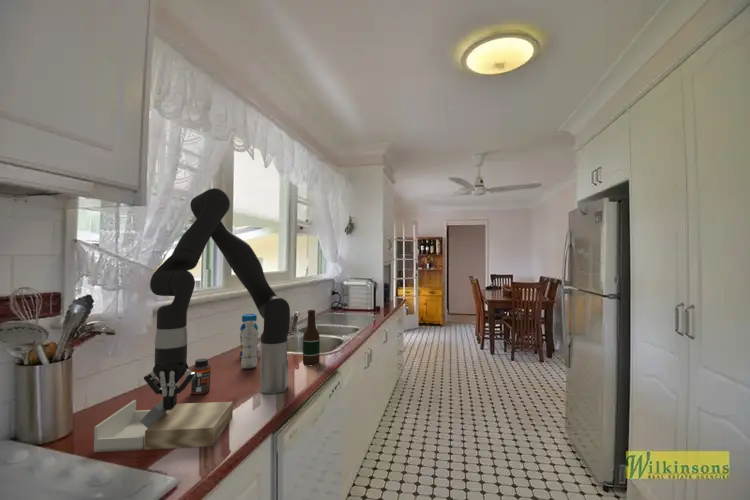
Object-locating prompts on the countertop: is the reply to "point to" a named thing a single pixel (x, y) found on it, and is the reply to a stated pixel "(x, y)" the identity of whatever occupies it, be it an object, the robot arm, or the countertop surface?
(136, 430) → the box
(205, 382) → the supplement bottle
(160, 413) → the grey block
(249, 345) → the plastic bottle
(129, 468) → the countertop surface
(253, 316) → the beverage bottle
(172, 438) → the board
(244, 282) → the robot arm
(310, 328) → the beer bottle
